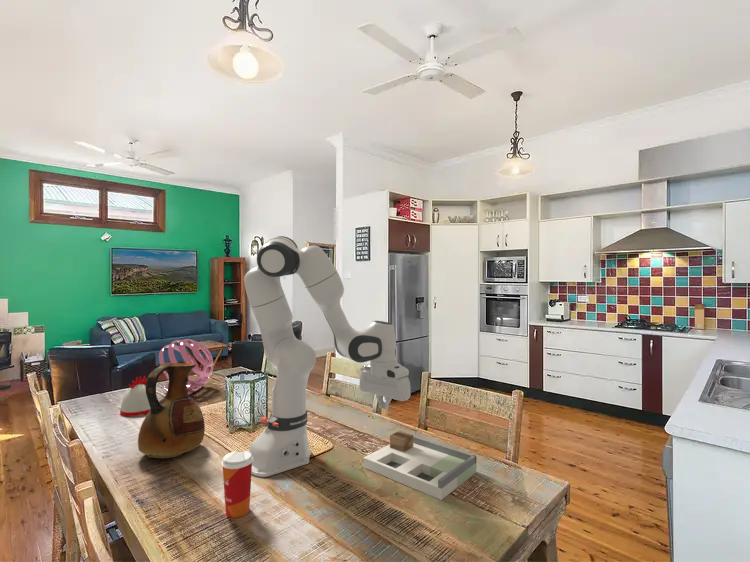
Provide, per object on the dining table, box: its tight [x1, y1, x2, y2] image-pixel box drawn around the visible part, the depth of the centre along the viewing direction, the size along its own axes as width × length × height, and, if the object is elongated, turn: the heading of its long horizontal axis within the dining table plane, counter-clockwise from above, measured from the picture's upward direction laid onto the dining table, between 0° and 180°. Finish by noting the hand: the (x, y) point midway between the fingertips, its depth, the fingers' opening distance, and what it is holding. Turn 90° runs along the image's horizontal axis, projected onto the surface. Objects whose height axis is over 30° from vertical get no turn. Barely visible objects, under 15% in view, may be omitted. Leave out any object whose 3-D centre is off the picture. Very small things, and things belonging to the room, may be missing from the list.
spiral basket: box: [158, 338, 214, 394], centre depth 206 cm, size 28×28×27 cm
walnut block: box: [389, 430, 414, 452], centre depth 132 cm, size 6×6×4 cm
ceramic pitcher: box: [137, 362, 206, 459], centre depth 136 cm, size 20×20×30 cm
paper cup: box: [220, 450, 253, 519], centre depth 101 cm, size 8×8×14 cm
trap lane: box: [362, 435, 477, 501], centre depth 123 cm, size 20×28×5 cm
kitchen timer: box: [119, 375, 151, 417], centre depth 177 cm, size 14×14×15 cm
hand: (384, 408), depth 138 cm, fingers closed
